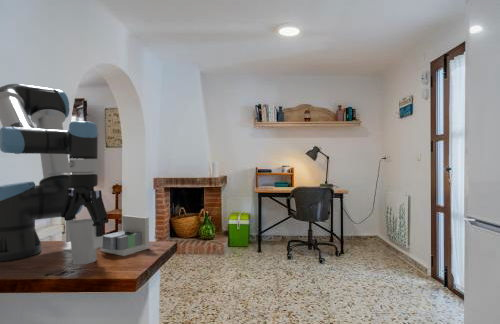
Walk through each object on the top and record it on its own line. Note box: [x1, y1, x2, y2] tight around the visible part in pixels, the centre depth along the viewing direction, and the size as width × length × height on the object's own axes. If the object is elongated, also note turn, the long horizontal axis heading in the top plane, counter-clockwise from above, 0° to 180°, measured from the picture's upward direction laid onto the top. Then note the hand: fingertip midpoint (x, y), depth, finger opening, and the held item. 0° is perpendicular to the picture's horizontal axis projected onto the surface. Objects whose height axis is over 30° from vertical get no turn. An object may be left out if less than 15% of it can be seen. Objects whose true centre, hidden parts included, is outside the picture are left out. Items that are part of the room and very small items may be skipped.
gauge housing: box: [99, 214, 150, 257], centre depth 104 cm, size 12×10×10 cm
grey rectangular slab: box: [102, 230, 134, 250], centre depth 101 cm, size 8×8×5 cm
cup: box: [69, 218, 98, 266], centre depth 92 cm, size 8×8×12 cm
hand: (83, 244), depth 92 cm, fingers open, 13 cm apart
